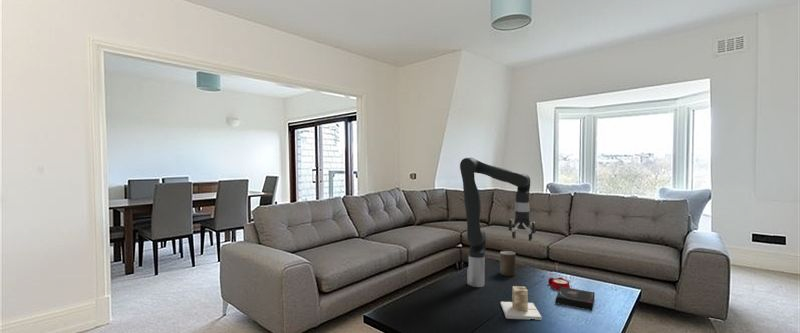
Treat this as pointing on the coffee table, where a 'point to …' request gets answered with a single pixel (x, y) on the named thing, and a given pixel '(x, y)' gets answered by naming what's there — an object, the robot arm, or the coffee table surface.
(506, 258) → the pillar candle
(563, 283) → the alarm clock
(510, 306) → the plate
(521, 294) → the beige wooden tall block
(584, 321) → the coffee table surface
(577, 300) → the portable cd player
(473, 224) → the robot arm
